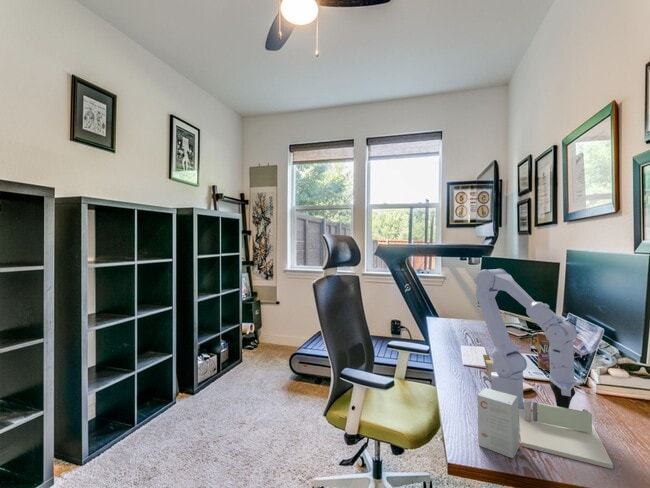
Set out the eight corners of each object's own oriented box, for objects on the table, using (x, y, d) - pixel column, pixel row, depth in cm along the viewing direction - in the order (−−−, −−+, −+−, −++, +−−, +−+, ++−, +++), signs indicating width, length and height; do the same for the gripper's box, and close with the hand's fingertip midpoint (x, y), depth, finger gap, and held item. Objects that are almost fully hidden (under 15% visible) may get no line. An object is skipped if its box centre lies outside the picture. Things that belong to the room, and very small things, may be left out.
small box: (519, 447, 82) (518, 396, 82) (513, 459, 77) (512, 404, 77) (485, 435, 87) (484, 386, 87) (477, 445, 83) (476, 394, 83)
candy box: (537, 368, 135) (536, 332, 136) (544, 367, 137) (544, 331, 137) (558, 376, 127) (557, 337, 127) (566, 375, 128) (565, 336, 128)
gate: (533, 420, 91) (533, 403, 92) (533, 419, 92) (532, 401, 92) (592, 433, 85) (591, 414, 85) (591, 431, 86) (590, 412, 86)
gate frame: (521, 445, 82) (520, 420, 82) (518, 411, 100) (517, 390, 100) (613, 469, 73) (612, 440, 74) (592, 426, 91) (591, 403, 91)
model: (488, 382, 123) (488, 362, 123) (481, 371, 133) (480, 353, 133) (498, 382, 122) (497, 362, 122) (489, 372, 133) (489, 353, 133)
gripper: (584, 375, 85) (585, 427, 85) (574, 358, 98) (575, 403, 97) (552, 370, 88) (553, 420, 88) (546, 355, 101) (546, 398, 101)
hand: (562, 411), depth 93 cm, fingers closed
